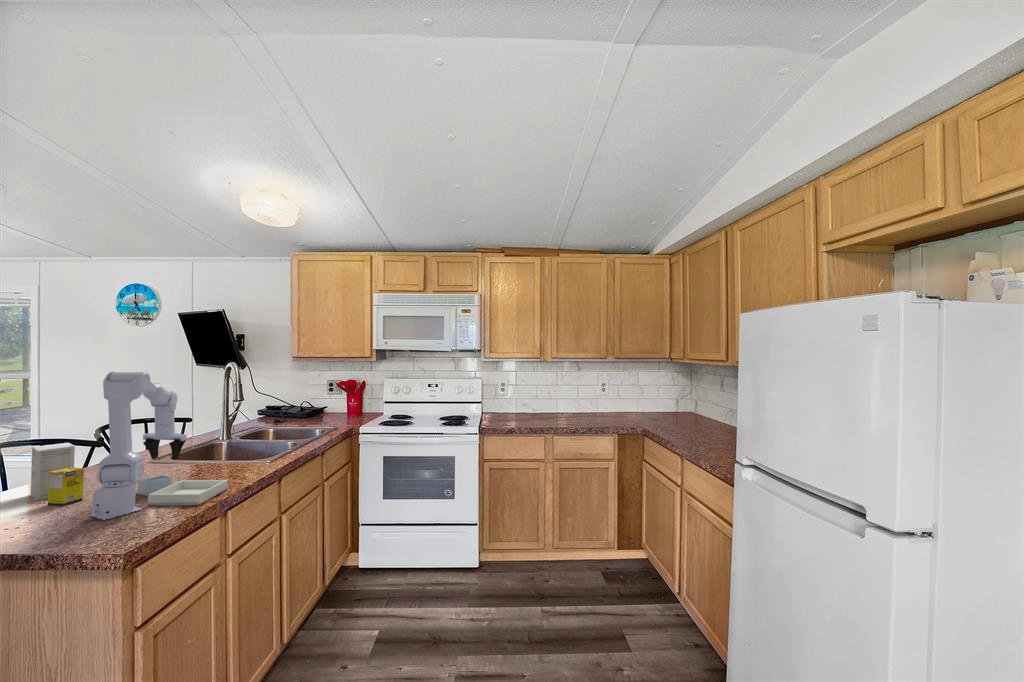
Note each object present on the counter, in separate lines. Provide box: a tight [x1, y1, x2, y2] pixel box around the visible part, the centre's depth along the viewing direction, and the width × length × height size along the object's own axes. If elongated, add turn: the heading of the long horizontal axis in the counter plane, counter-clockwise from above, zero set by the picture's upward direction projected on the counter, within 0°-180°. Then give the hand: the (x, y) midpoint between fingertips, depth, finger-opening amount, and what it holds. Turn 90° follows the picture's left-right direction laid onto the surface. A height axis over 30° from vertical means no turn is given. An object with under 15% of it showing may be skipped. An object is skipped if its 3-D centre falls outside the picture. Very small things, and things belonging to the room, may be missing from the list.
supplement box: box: [47, 467, 85, 507], centre depth 142 cm, size 6×6×11 cm
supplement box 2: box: [30, 442, 76, 501], centre depth 150 cm, size 10×9×17 cm
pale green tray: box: [147, 479, 229, 506], centre depth 149 cm, size 16×16×4 cm
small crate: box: [137, 474, 173, 497], centre depth 154 cm, size 8×5×5 cm, turn 156°
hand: (165, 458), depth 161 cm, fingers open, 7 cm apart
